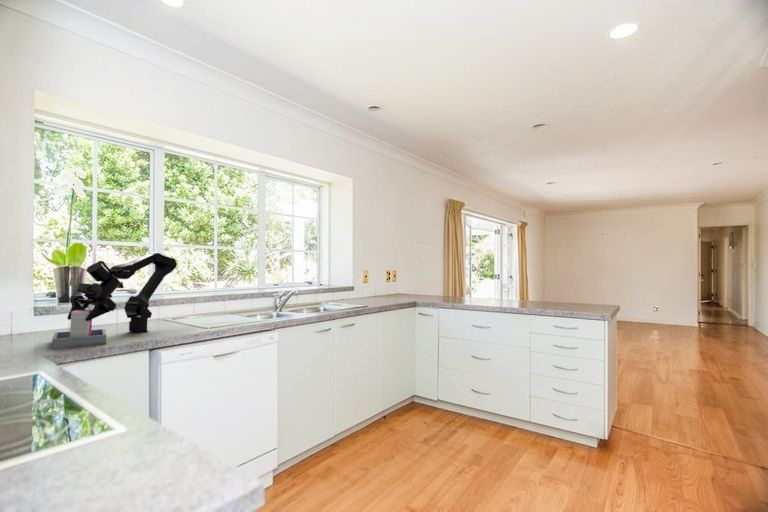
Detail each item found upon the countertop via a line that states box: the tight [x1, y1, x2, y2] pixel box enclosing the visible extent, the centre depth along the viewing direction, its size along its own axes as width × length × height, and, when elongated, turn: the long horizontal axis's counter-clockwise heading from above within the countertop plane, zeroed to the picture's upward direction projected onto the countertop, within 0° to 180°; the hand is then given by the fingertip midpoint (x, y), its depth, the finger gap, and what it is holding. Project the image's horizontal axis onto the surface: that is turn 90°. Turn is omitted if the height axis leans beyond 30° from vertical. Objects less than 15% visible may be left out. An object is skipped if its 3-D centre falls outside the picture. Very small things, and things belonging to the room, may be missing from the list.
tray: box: [51, 328, 108, 350], centre depth 154 cm, size 16×16×4 cm
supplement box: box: [69, 309, 93, 337], centre depth 154 cm, size 6×6×12 cm
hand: (77, 319), depth 153 cm, fingers open, 9 cm apart
